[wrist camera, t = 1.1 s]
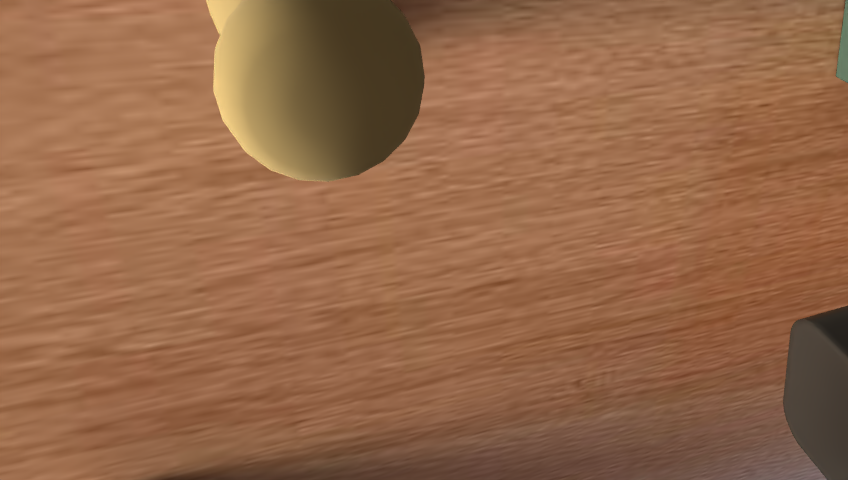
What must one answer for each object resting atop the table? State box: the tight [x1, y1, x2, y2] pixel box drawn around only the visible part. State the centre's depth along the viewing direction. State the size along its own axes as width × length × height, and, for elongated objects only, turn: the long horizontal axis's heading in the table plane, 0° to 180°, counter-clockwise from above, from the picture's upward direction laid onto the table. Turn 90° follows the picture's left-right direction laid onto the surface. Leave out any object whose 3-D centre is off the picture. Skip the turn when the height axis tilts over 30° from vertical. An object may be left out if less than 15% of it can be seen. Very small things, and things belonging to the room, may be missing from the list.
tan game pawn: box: [206, 0, 425, 182], centre depth 23 cm, size 6×6×11 cm
